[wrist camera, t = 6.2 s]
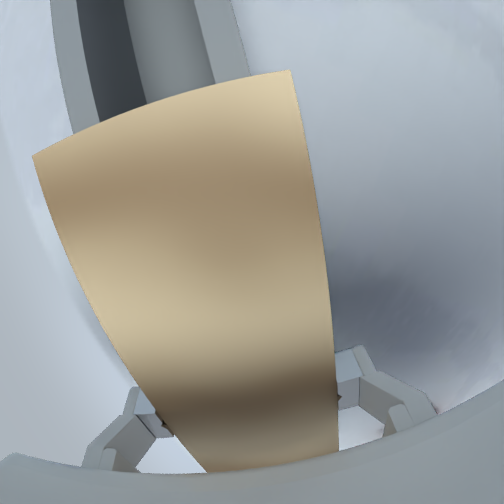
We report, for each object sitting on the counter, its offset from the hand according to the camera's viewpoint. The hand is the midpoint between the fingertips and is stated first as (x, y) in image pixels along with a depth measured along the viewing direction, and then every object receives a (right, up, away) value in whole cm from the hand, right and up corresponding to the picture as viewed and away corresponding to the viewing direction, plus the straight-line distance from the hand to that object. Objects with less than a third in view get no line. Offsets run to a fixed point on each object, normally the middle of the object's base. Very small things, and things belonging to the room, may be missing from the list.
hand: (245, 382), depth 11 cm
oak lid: (0, +1, +1) cm, 1 cm away
